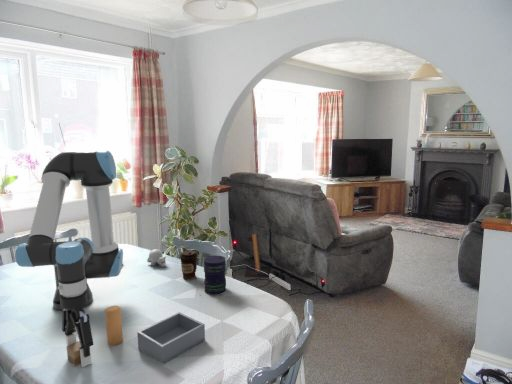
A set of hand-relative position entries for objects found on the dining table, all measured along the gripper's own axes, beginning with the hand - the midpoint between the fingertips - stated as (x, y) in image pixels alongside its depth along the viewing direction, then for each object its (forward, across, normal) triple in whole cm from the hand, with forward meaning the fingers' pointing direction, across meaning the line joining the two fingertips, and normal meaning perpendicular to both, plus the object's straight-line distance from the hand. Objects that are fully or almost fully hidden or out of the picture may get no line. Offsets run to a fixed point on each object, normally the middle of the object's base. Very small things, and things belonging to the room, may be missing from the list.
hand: (79, 359), depth 119 cm
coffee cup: (+1, -25, +66) cm, 71 cm away
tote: (0, +16, +24) cm, 29 cm away
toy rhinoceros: (+1, -51, +66) cm, 84 cm away
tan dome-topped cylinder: (0, -1, +13) cm, 13 cm away
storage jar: (+1, -4, +64) cm, 64 cm away
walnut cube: (0, 0, 0) cm, 0 cm away
